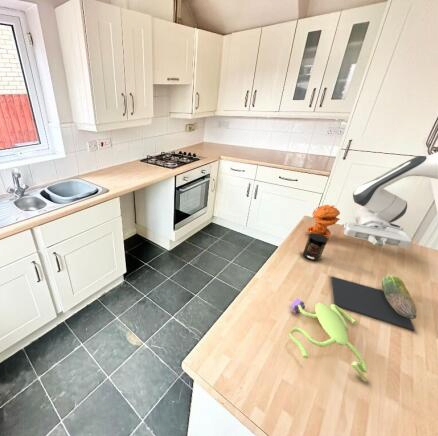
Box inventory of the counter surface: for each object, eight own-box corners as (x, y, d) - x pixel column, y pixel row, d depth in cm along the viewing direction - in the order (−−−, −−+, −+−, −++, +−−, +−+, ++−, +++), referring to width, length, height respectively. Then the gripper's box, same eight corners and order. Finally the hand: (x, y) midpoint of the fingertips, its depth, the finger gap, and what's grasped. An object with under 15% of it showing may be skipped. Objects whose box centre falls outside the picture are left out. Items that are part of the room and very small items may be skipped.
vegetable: (404, 282, 87) (430, 325, 72) (383, 287, 91) (403, 329, 76) (394, 269, 87) (418, 309, 71) (373, 275, 91) (392, 314, 75)
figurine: (284, 358, 67) (289, 345, 65) (289, 294, 88) (293, 283, 85) (368, 394, 59) (378, 382, 57) (352, 315, 79) (359, 303, 77)
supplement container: (320, 255, 107) (328, 236, 102) (319, 264, 102) (328, 243, 97) (302, 250, 111) (309, 231, 106) (301, 258, 106) (308, 238, 101)
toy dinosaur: (326, 246, 113) (340, 212, 105) (301, 236, 121) (312, 204, 112) (334, 237, 120) (348, 205, 111) (310, 229, 127) (321, 197, 118)
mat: (399, 296, 86) (400, 295, 86) (413, 331, 74) (414, 330, 74) (331, 277, 95) (332, 276, 95) (334, 305, 83) (335, 304, 83)
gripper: (344, 216, 105) (348, 230, 95) (408, 227, 96) (420, 245, 86) (339, 228, 108) (342, 243, 98) (400, 240, 99) (411, 259, 89)
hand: (379, 244), depth 92 cm, fingers closed
